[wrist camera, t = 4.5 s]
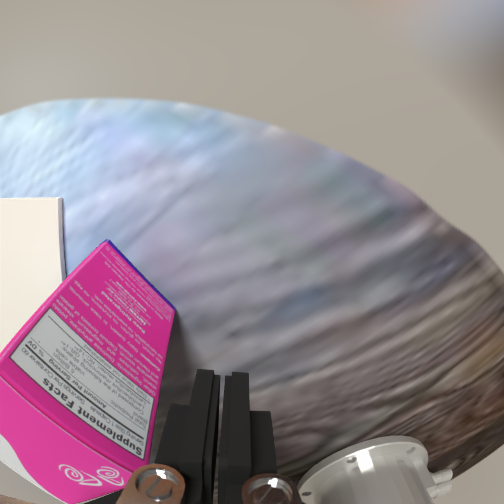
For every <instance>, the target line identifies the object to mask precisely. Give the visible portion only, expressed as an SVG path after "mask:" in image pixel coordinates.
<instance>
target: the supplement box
mask: <svg viewBox="0 0 504 504" xmlns="http://www.w3.org/2000/svg"><path fill="white" fill-rule="evenodd" d="M175 310H176V309H175V307H174V306H173V305H172V304H171V303H170V302H169V301H168V300H167V299H166V298H165V297H164V296H163V295H162V294H161V293H160V292H159V291H158V290H157V289H156V288H155V287H154V286H153V285H152V284H151V283H150V282H149V281H148V280H147V279H146V278H145V277H144V276H143V275H142V274H141V273H140V272H139V271H138V270H137V269H136V268H135V267H134V266H133V265H132V264H131V262H130V261H129V260H128V259H127V258H126V257H125V256H124V255H123V254H122V253H121V252H120V251H119V250H118V249H117V248H116V247H115V245H114V244H113V243H112V242H111V241H110V240H109V239H106V240H105V241H104V242H102V243H101V244H100V245H99V246H98V247H97V248H96V249H95V250H94V251H93V252H92V253H91V254H90V255H89V256H88V257H87V258H86V259H85V260H84V261H83V262H82V263H81V264H80V265H79V266H78V267H77V268H76V269H75V270H74V271H73V272H72V273H71V274H70V275H69V276H68V277H67V278H66V279H65V280H64V281H63V282H62V283H61V284H60V285H59V286H58V288H57V289H56V290H55V291H54V292H53V293H52V294H51V295H50V296H49V297H48V298H47V299H46V301H45V302H44V303H43V304H42V305H41V306H40V307H39V308H38V309H37V310H36V312H35V313H34V314H33V315H32V316H31V317H30V318H29V320H28V321H27V322H26V323H25V324H24V325H23V326H22V327H21V329H20V330H19V331H18V332H17V333H16V335H15V336H14V337H13V338H12V339H11V341H10V342H9V343H8V344H7V345H6V347H5V348H4V349H3V350H2V352H1V353H0V461H1V462H3V463H4V464H5V465H7V466H8V467H10V468H11V469H12V470H14V471H15V472H17V473H18V474H20V475H21V476H22V477H24V478H25V479H27V480H28V481H30V482H32V484H34V485H35V486H37V487H39V488H40V489H42V490H43V491H45V492H47V493H48V494H50V495H51V496H53V497H55V498H56V499H58V500H60V501H62V502H64V503H65V504H76V503H80V502H83V501H87V500H90V499H93V498H97V497H100V496H103V495H106V494H109V493H112V492H115V491H118V490H121V489H124V488H125V486H126V484H127V482H128V480H129V478H130V477H131V475H132V474H133V473H134V471H135V470H137V469H138V468H140V467H141V466H145V465H148V464H149V459H150V451H151V444H152V437H153V430H154V424H155V417H156V410H157V406H158V399H159V394H160V387H161V381H162V376H163V370H164V365H165V359H166V354H167V349H168V344H169V339H170V334H171V329H172V324H173V319H174V315H175Z"/></svg>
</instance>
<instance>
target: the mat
mask: <svg viewBox="0 0 504 504" xmlns="http://www.w3.org/2000/svg"><path fill="white" fill-rule="evenodd" d="M65 279H66V273H65V261H64V246H63V220H62V198H0V353H1V352H2V350H3V349H4V348H5V347H6V345H7V344H8V343H9V342H10V341H11V339H12V338H13V337H14V336H15V335H16V333H17V332H18V331H19V330H20V329H21V327H22V326H23V325H24V324H25V323H26V322H27V321H28V320H29V318H30V317H31V316H32V315H33V314H34V313H35V312H36V310H37V309H38V308H39V307H40V306H41V305H42V304H43V303H44V302H45V301H46V299H47V298H48V297H49V296H50V295H51V294H52V293H53V292H54V291H55V290H56V289H57V288H58V286H59V285H60V284H61V283H62V282H63V281H64V280H65Z"/></svg>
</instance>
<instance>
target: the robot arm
mask: <svg viewBox="0 0 504 504" xmlns="http://www.w3.org/2000/svg"><path fill="white" fill-rule="evenodd" d="M219 395H220V375H214V370H204V369H198V370H197V374H196V378H195V383H194V388H193V392H192V397H191V402H190V406H186V405H177V404H171V406H170V409H169V413H168V416H167V420H166V423H165V427H164V431H163V434H162V438H161V442H160V445H159V449H158V453H157V456H156V460H155V464H148V465H145V466H141V467H140V468H138V469H137V470H135V471H134V473H133V474H132V475H131V477H130V478H129V480H128V482H127V484H126V486H125V488H124V489H121V490H119V491H116V492H114V493H111V494H109V495H106V496H104V497H101V498H99V499H96V500H93V501H90V502H87V503H84V504H213V492H214V479H215V466H216V454H217V441H218V423H219ZM427 463H428V453H427V451H426V449H425V447H424V445H423V444H422V443H421V442H420V441H419V440H417V439H415V438H413V437H408V436H386V437H379V438H375V439H371V440H367V441H363V442H360V443H358V444H355V445H352V446H349V447H347V448H345V449H342V450H340V451H338V452H336V453H334V454H332V455H330V456H329V457H327V458H325V459H323V460H322V461H320V462H319V463H318V464H316V465H315V466H313V467H312V468H311V469H310V470H309V471H308V472H307V473H305V474H304V476H303V477H302V478H301V480H300V481H299V482H298V485H297V487H296V486H295V484H294V483H293V482H292V481H291V480H290V479H289V478H286V477H284V476H282V475H279V474H277V466H276V457H275V447H274V438H273V429H272V420H271V413H270V411H250V404H249V373H243V372H232V376H225V387H224V400H223V413H222V426H221V439H220V453H219V473H218V504H434V503H433V501H432V498H437V497H440V496H443V495H446V494H448V493H449V492H450V491H451V488H452V484H451V481H450V479H451V478H452V470H451V469H450V468H447V469H443V470H440V471H437V472H436V473H431V472H429V471H428V469H427V467H426V466H427ZM0 504H35V503H30V502H27V501H23V500H18V499H15V498H11V497H8V496H4V495H0Z"/></svg>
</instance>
